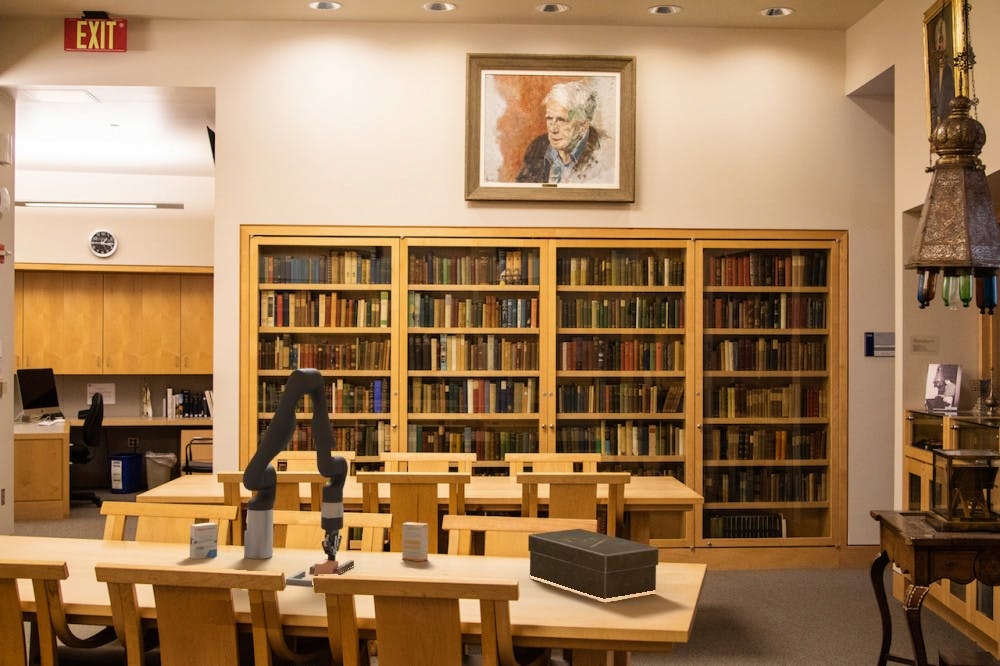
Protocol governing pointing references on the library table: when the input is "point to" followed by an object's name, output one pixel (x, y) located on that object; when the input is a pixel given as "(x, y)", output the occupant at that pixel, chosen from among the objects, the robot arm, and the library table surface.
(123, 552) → the library table surface
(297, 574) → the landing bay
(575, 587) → the box
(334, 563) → the terracotta block
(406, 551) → the supplement box
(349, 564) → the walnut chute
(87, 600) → the library table surface
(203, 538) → the ink box
